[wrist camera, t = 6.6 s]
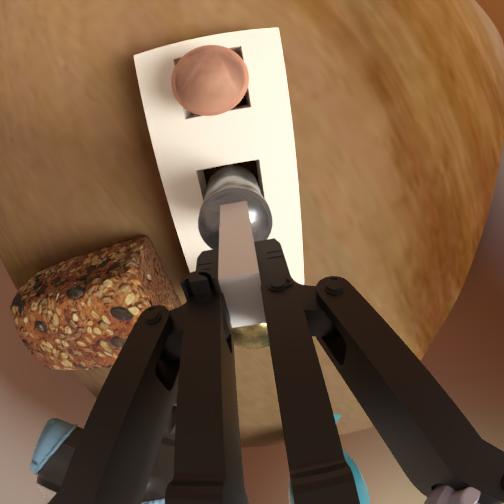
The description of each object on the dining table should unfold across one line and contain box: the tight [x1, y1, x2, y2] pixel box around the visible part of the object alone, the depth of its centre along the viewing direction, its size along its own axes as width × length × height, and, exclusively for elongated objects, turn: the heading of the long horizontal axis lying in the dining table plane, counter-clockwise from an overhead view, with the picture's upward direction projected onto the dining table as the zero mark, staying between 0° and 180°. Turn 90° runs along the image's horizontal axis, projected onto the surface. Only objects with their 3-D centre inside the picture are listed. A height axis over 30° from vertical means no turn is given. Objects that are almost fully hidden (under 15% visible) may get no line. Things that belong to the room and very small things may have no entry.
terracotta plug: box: [171, 45, 249, 116], centre depth 16 cm, size 4×4×6 cm
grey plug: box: [198, 165, 273, 249], centre depth 19 cm, size 4×4×6 cm
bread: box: [10, 236, 181, 371], centre depth 25 cm, size 19×11×10 cm, turn 102°
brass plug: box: [231, 323, 270, 349], centre depth 23 cm, size 4×4×6 cm
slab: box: [134, 28, 304, 285], centre depth 22 cm, size 10×24×4 cm, turn 8°
